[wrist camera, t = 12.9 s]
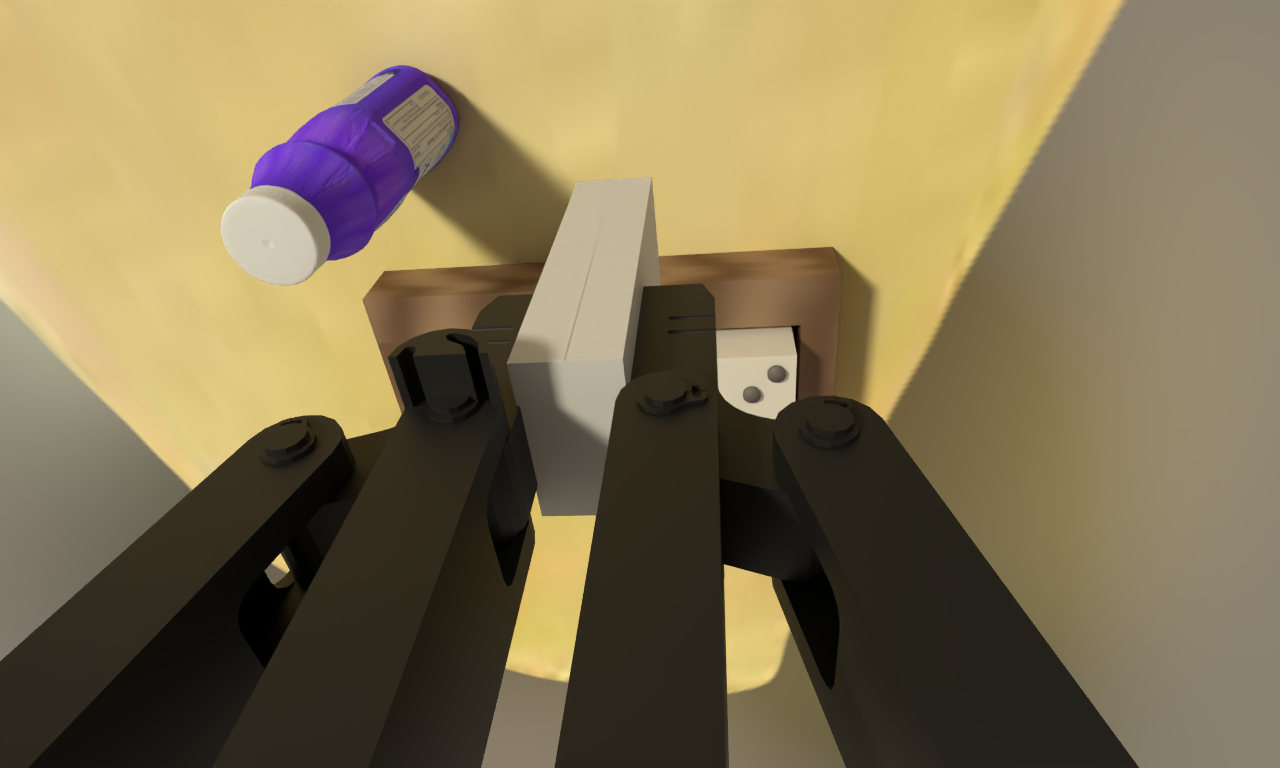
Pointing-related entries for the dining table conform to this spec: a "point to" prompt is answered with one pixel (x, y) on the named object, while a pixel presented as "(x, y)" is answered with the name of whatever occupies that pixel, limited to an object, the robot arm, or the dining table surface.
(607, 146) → the dining table surface
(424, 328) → the keyboard base
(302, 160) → the bottle
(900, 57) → the dining table surface
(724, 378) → the key three
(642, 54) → the dining table surface
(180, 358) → the dining table surface
